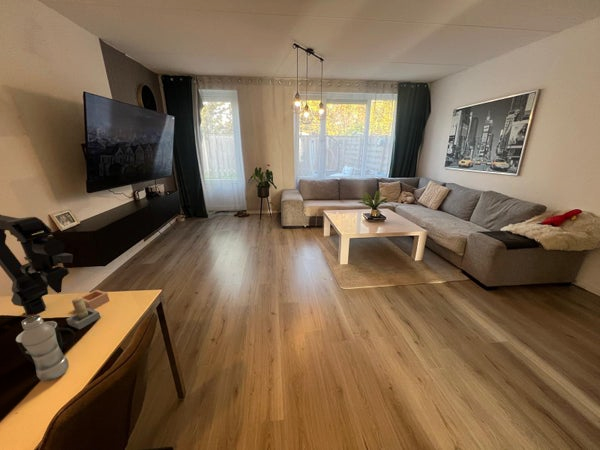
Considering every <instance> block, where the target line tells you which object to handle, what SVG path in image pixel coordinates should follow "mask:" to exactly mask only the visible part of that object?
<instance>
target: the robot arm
mask: <svg viewBox="0 0 600 450" xmlns="http://www.w3.org/2000/svg"><path fill="white" fill-rule="evenodd" d="M6 231H9V234H10V235H11V236H13V237H15V238H16V241H17V242H20V246H21V247H22V250H23V252H24V255H25V256H24V260H25V261H28V263H27V262H26V263H24V264H22V263H21V262H20V260H19V259H18V258H17V256H16V255H15V254H14V252H13V251H12V250H11V249H10V247H9V245H7V243H6V240H7V233H6ZM65 245H66V244H65V243H64V241H62V240H60V239H56V238H55V236H54V233H53V231H52V228H50V226H48V225H47V224H46V223H45V222H44V220H42V219H40V218H38V217H36V216H27V217H18V218H17V217H13V216H8V215H4V214H0V268H1V269H2V271H4V273H5V274H6V275H7V277H8V278H9V279H10V280H11V281H12V285H11V292H12V293H13V294H12V296H11V298H10V299H11V300H10V301H11V303H12V304H13V305H14V306H17V307H22V308H23V309H24V312H23V313H22V315H25V314H26V315H27V316H29V315H31V316H35V315H40V314H41V313H43V312H45V311H47V309H46V308H47V305H46V302H45V301H44V298H43V297H44V296H47V295H48V294H49V289H48V287H49V288H51V289H52V290H53V291H54V292H55V293H57V294H60V293H61V292H62V287H63V285H62V284H63V279H64V278H65V277H67V276H68V275H70V272H69V268H67V267H63V266H60V265H59V264H71V263H73V257H74V255H73V254H72V253H67V252H64V251H65V247H66V246H65Z"/></svg>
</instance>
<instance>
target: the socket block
mask: <svg viewBox="0 0 600 450" xmlns="http://www.w3.org/2000/svg"><path fill="white" fill-rule="evenodd" d="M86 309H87V312H88V314H89V316H88V317H86V318H84V319H82V320H81V321H79V319H78V316H77V314H76V313H75V314H74V315H71V316H70V317H68V318H66V319H65V320H66V322H67V324H68V326H70V327H73V328H75V329H78V330H81V329H83V328H85V327H87V326H88V325H90V324H92V323H93V322H95V321H97V320H99V319H100V318H101V315H100V312H99V311H97V310H95V309H94V310H92V309H90V308H86Z"/></svg>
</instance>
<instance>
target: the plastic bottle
mask: <svg viewBox="0 0 600 450" xmlns="http://www.w3.org/2000/svg"><path fill="white" fill-rule="evenodd" d="M44 322H45V321H44V319H43V318H42V316H41V315H40V314H35V315H31V316H29V317H26V318H25V319H23V320H22V321H20V323H21V326H22V329H23V331H25V332H24V333H23V335H22V338H21V342H22V344H23V346H24V347H25V348H26V349H27V350H28V352H29V353H30V355H31V356H32V358H33V360H34V363H35V364H34V363H33V364H34V365H35V373H36V376H37V378H38V379H39V380H40V381H43V382H51V381H54V380H57V379H58V378H60V377H62V376H63V375H64V374H65V373H66V372H67V371H68V368H69V367H70V363H69V360H68V358H67V356H66V355H64V353H63V352H62V351H61V350H60V348H59V345H58V342H57V339H56V333H55V329H54V327H53V326H51V325H49V324H45V323H44Z"/></svg>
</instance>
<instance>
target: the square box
mask: <svg viewBox="0 0 600 450" xmlns="http://www.w3.org/2000/svg"><path fill="white" fill-rule="evenodd" d="M81 297H82V298H83V300H84V303H85V306H86V308H90V309H92V310H95V309H97V308H99V307H102V305H105V304H107V303H108V302H110V297H109V294H108V292H105V291H102V290H99V289H96V290H93V291H92V292H89V293H87V294H85V295H83V296H81Z"/></svg>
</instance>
